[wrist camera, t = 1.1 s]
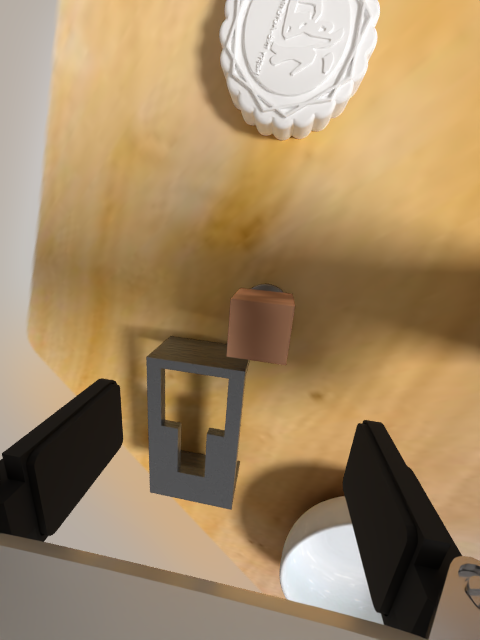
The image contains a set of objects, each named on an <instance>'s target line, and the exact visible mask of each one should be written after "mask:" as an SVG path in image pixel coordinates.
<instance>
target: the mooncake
mask: <svg viewBox="0 0 480 640" xmlns="http://www.w3.org/2000/svg"><path fill="white" fill-rule="evenodd" d="M379 14H380V6H379V2H378V0H226V3H225V17H226V19H225V21H224V22H223V23H222V25H221V28H220V32H219V38H220V43H221V46H222V49H223V50H222V52H221V56H220V63H221V67H222V70H223V73H224V76H225V79H226V81H227V87H228V90H229V93H230V96H231V98H232V101H233V104H234V106H235V107H236V108H237V109H239V110H241V113H242V116H243V119H244V121H245V122H246V123H247V124H249V125H256V127H257V130H258V131H259V133H260V134H262V135H265V136H268V135H271V134H273V135H274V136H275V137H276V138H277V139H279V140H286V139H288V138H290V137H291V136H293V137H294V138H297V139H302V138H305V137H306V136H308V135H309V133H310V132H311V130H312V131H321V130H323V129H324V128H325V127H326V126H327V125H328V123H329V121H330V118H336V117H338V116H339V115H340V114H341V113H342V112H343V111H344V109H345V107H346V105H347V102H348V100H349V99H350V98H351V97H352V96H353V95H354V94H355V93H356V91H357V89H358V87H359V85H360V83H361V81H362V79H363V77H364V75H365V73H366V71H367V67H368V61H369V59H370V57H371V55H372V53H373V50H374V48H375V46H376V43H377V32H376V29H375V26H376V23H377V21H378V18H379Z"/></svg>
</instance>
